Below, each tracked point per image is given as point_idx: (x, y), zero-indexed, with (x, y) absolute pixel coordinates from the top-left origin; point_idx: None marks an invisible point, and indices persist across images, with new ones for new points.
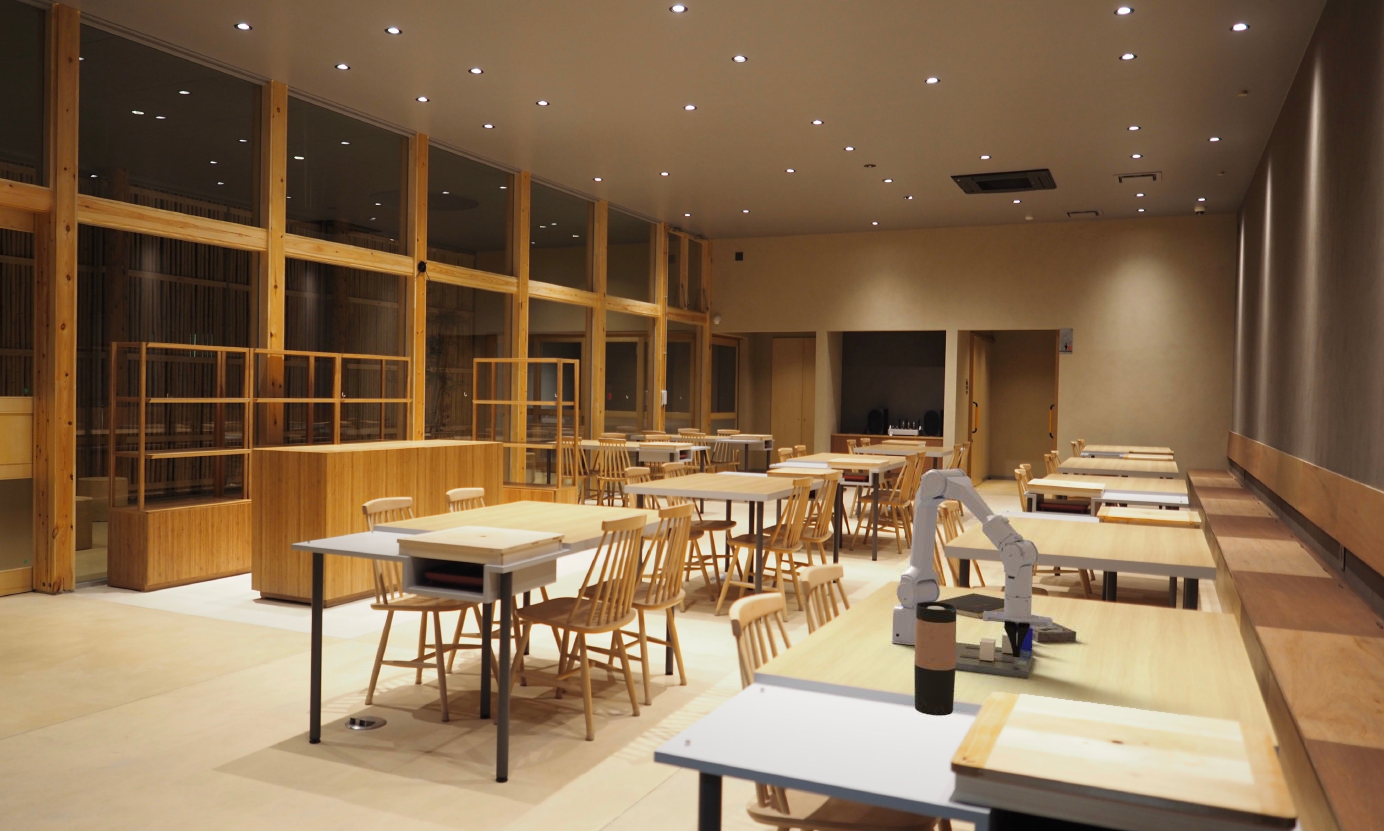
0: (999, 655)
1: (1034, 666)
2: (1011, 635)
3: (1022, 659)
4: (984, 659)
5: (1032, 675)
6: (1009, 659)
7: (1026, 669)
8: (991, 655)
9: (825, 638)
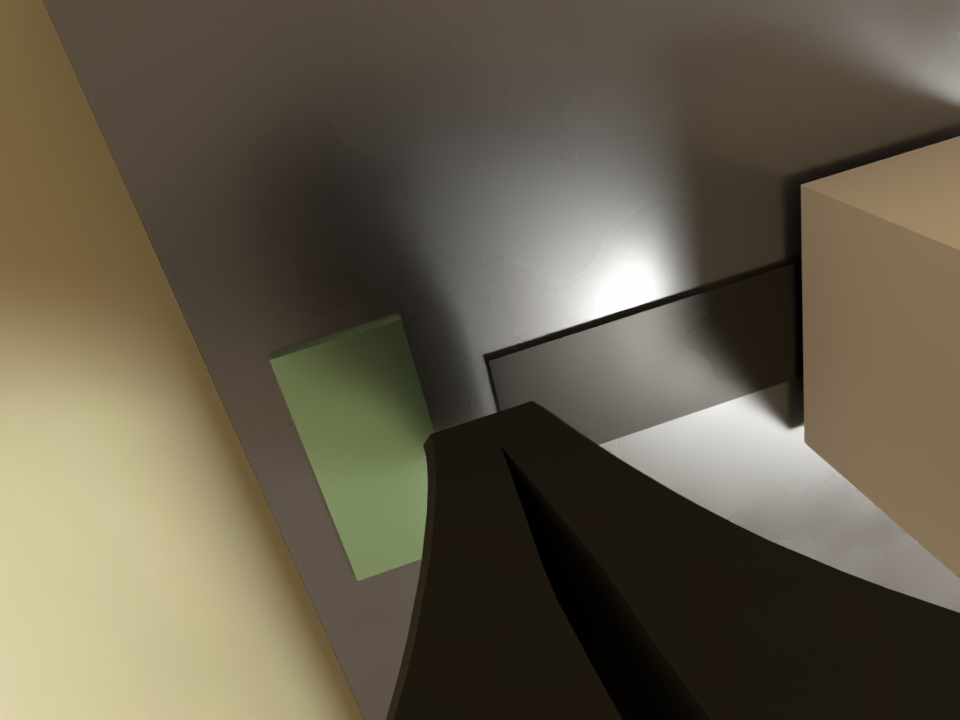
0: None
1: (307, 659)
2: (865, 675)
3: None
4: (943, 146)
5: (96, 227)
6: None
7: (116, 88)
8: (899, 200)
9: None
